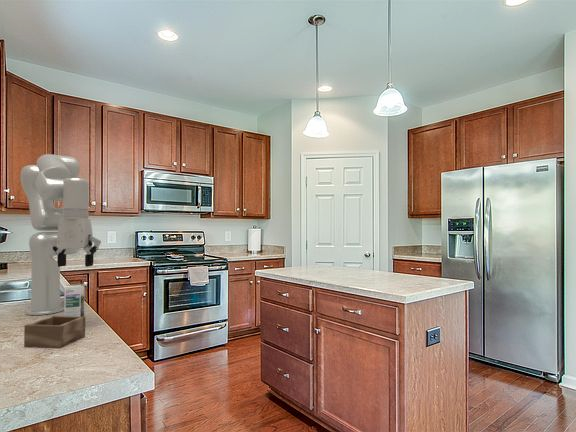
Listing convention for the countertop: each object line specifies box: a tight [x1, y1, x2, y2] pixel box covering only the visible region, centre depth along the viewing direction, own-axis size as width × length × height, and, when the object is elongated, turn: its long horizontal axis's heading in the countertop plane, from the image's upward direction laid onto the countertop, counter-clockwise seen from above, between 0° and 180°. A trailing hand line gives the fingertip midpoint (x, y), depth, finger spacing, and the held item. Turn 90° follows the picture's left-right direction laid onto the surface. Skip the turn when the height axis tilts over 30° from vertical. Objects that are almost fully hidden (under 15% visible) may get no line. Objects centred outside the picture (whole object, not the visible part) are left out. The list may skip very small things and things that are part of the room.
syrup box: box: [63, 283, 85, 317], centre depth 123 cm, size 6×6×14 cm
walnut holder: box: [23, 315, 86, 349], centre depth 109 cm, size 11×11×6 cm
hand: (75, 266), depth 123 cm, fingers open, 9 cm apart
